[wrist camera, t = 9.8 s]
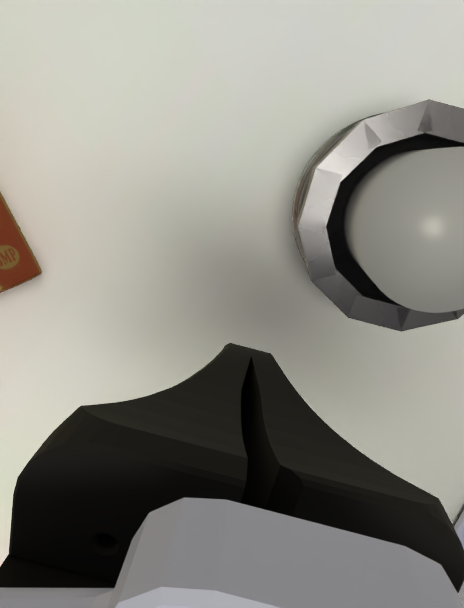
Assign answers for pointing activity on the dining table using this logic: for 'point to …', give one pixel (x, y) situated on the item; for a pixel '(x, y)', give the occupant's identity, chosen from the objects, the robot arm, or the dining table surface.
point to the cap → (411, 227)
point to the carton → (14, 252)
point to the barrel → (333, 191)
